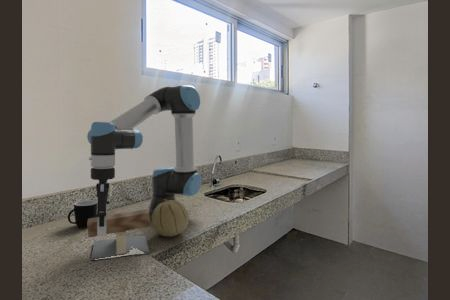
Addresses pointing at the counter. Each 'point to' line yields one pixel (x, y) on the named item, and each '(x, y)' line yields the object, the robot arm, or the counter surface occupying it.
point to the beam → (121, 222)
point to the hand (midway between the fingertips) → (102, 228)
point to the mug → (83, 212)
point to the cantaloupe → (170, 218)
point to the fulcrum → (118, 246)
